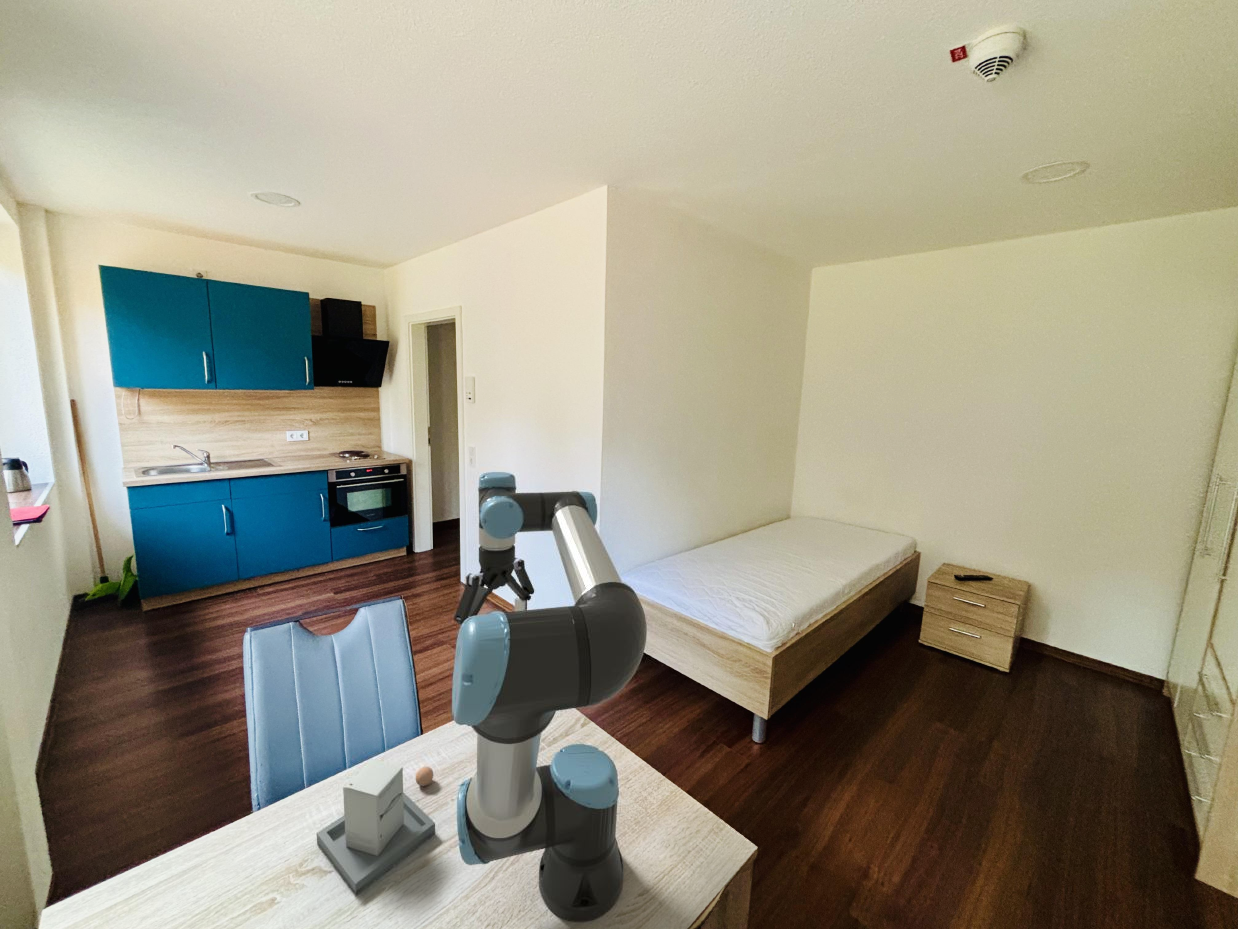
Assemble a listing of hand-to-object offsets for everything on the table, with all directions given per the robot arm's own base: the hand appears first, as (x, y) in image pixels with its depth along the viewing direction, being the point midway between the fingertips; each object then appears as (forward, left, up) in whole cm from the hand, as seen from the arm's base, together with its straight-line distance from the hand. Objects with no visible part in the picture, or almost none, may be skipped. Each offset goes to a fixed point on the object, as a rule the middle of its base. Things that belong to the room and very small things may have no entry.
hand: (496, 638), depth 107 cm
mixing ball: (+8, +13, -32) cm, 35 cm away
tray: (+3, +26, -32) cm, 41 cm away
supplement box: (+3, +26, -31) cm, 41 cm away
